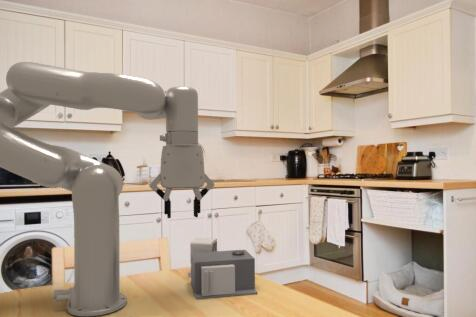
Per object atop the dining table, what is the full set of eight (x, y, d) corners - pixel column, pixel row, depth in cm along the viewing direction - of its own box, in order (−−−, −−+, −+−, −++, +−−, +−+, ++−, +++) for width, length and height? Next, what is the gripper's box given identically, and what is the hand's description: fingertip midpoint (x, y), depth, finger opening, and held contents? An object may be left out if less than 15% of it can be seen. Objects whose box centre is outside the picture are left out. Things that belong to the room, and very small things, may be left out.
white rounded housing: (211, 278, 103) (211, 242, 103) (187, 277, 105) (187, 241, 105) (217, 272, 109) (217, 238, 109) (194, 271, 111) (194, 237, 111)
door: (202, 297, 88) (202, 269, 88) (201, 293, 90) (201, 266, 90) (235, 294, 89) (235, 266, 89) (233, 290, 92) (233, 264, 92)
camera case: (195, 299, 88) (195, 262, 88) (191, 282, 100) (190, 250, 100) (257, 294, 91) (257, 258, 91) (245, 278, 103) (245, 247, 103)
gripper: (144, 138, 83) (144, 220, 82) (220, 139, 86) (221, 217, 86) (145, 141, 90) (145, 216, 90) (215, 141, 94) (216, 213, 93)
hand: (182, 216), depth 88 cm, fingers open, 5 cm apart
